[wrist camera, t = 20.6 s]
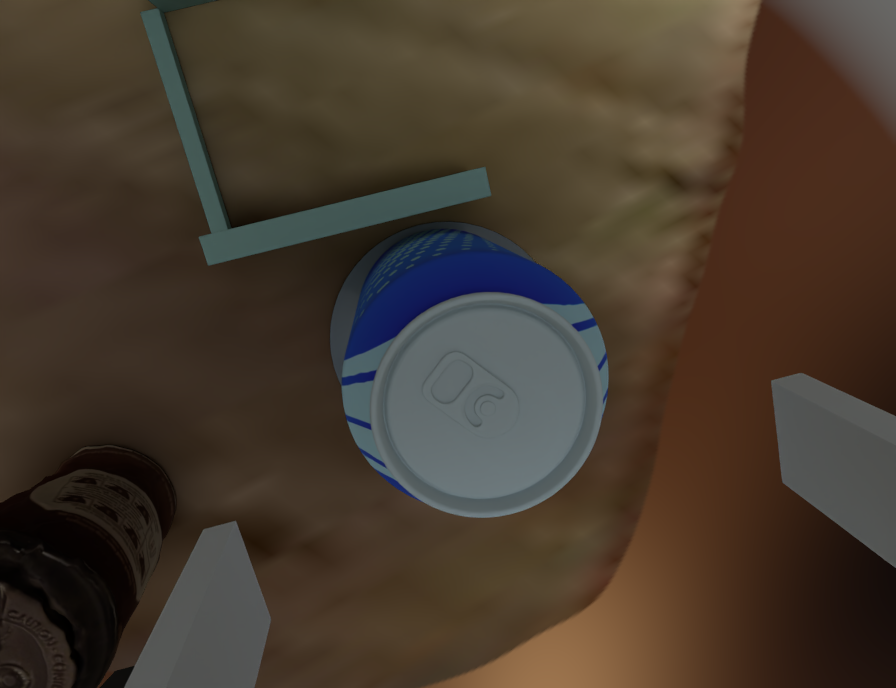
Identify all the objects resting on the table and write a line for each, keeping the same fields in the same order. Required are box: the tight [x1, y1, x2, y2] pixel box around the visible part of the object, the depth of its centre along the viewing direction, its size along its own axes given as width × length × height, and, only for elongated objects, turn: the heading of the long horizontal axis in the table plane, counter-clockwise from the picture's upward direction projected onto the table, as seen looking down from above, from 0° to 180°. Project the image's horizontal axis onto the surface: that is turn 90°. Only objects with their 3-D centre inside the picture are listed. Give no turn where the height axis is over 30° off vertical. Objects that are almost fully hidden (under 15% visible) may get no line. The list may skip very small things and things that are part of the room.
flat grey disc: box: [330, 221, 534, 386], centre depth 35 cm, size 12×12×1 cm
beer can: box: [342, 229, 608, 518], centre depth 26 cm, size 8×8×16 cm
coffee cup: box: [0, 445, 176, 688], centre depth 29 cm, size 9×8×13 cm
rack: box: [140, 0, 491, 266], centre depth 29 cm, size 12×13×6 cm
